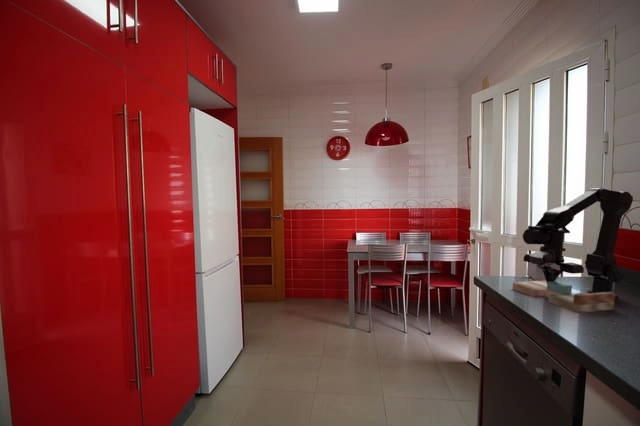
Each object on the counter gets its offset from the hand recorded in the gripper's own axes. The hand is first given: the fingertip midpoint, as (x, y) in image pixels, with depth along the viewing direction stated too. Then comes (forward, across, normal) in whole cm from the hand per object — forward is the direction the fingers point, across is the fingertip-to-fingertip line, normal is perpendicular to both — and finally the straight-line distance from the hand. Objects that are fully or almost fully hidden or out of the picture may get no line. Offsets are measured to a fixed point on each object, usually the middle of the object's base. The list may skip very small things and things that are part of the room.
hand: (549, 285), depth 113 cm
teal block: (+1, +4, 0) cm, 4 cm away
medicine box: (+4, -18, +16) cm, 25 cm away
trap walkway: (+4, +4, 0) cm, 5 cm away
